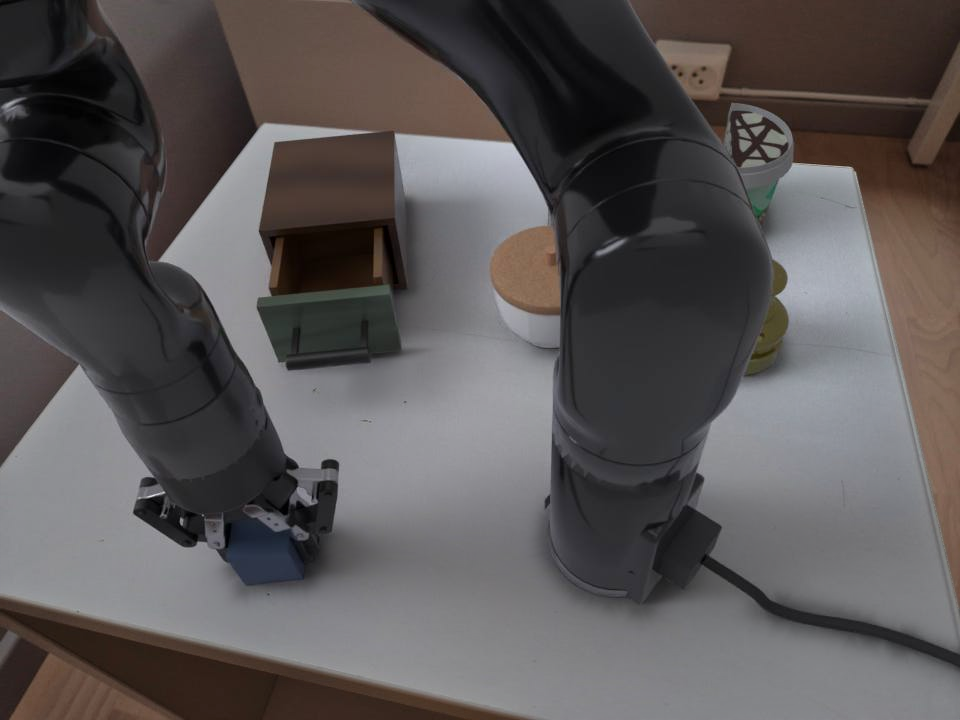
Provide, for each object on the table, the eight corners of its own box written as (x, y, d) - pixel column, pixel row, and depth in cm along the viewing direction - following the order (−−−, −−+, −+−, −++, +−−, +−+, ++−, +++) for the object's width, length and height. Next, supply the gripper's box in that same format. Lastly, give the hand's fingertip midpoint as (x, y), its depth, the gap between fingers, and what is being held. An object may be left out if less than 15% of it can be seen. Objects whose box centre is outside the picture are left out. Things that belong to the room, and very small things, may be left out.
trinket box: (621, 302, 73) (630, 226, 66) (584, 381, 67) (589, 307, 60) (519, 275, 76) (517, 199, 69) (475, 348, 70) (468, 273, 63)
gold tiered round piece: (710, 306, 72) (730, 224, 64) (788, 334, 69) (819, 252, 61) (680, 357, 68) (697, 276, 60) (761, 389, 65) (790, 308, 57)
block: (307, 526, 59) (293, 497, 55) (303, 579, 56) (288, 552, 53) (251, 532, 59) (234, 503, 55) (244, 585, 56) (225, 558, 53)
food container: (777, 258, 75) (803, 175, 68) (713, 253, 77) (733, 171, 69) (771, 185, 83) (794, 103, 76) (714, 181, 84) (731, 99, 77)
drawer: (402, 388, 66) (389, 332, 61) (273, 401, 66) (249, 346, 61) (400, 254, 78) (389, 197, 72) (291, 264, 78) (272, 208, 72)
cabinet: (407, 289, 76) (394, 217, 69) (283, 301, 76) (258, 231, 69) (405, 200, 85) (394, 130, 78) (295, 211, 85) (274, 141, 78)
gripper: (60, 489, 42) (173, 611, 55) (315, 463, 42) (368, 591, 55) (95, 385, 47) (191, 519, 60) (323, 362, 47) (370, 501, 60)
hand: (276, 553), depth 57 cm, fingers closed on block, 4 cm apart
